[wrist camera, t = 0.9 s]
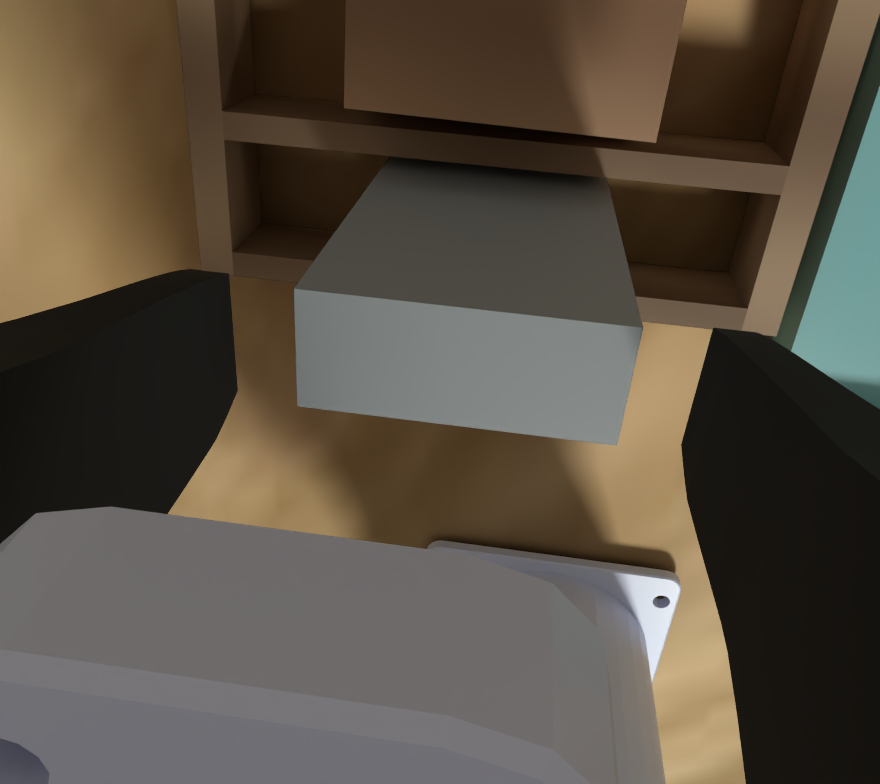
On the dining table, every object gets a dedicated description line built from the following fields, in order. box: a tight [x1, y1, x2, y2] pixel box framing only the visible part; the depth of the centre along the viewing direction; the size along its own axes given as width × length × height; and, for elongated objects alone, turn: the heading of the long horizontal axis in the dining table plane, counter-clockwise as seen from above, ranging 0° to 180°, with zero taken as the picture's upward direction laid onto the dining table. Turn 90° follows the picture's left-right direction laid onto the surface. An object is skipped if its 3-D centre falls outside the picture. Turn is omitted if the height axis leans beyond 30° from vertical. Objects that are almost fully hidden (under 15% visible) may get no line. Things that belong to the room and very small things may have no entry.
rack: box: [176, 0, 880, 336], centre depth 17 cm, size 8×14×2 cm, turn 86°
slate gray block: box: [294, 156, 643, 446], centre depth 15 cm, size 2×5×9 cm, turn 86°
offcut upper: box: [344, 0, 687, 143], centre depth 15 cm, size 3×6×2 cm, turn 86°
